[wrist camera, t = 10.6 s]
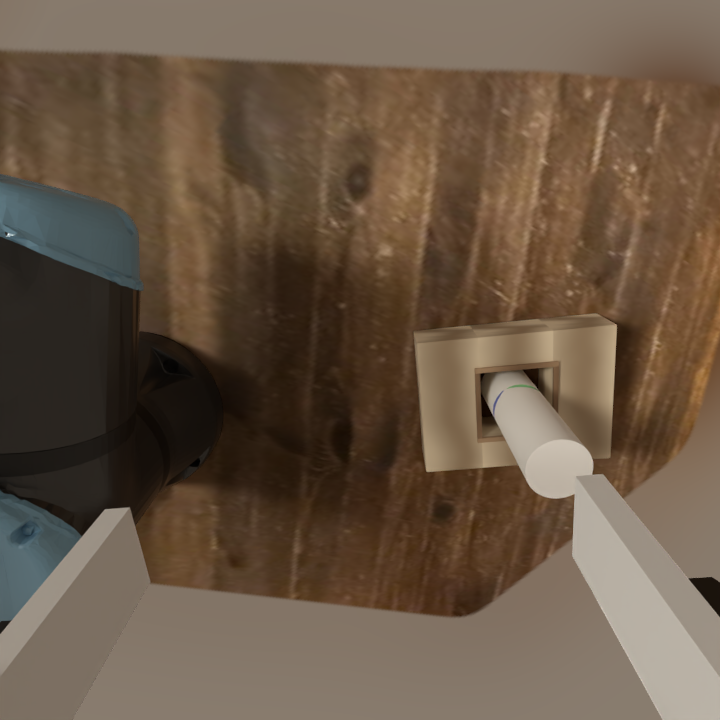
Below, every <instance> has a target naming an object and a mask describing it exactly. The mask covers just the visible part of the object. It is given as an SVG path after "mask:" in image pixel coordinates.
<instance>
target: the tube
mask: <svg viewBox="0 0 720 720" xmlns="http://www.w3.org/2000/svg"><path fill="white" fill-rule="evenodd" d="M481 393H482V395H483V397H484V399H485V401H486V403H487V405H488V407H489V409H490V411H491V413H492V415H493V417H494V418H495V420H496V422H497V424H498V426H499V428H500V430H501V432H502V434H503V436H504V438H505V440H506V442H507V444H508V446H509V448H510V450H511V451H512V453H513V455H514V457H515V459H516V461H517V463H518V465H519V467H520V469H521V471H522V473H523V475H524V477H525V479H526V481H527V482H528V484H529V486H530V487H531V488H532V489H533V490H534V491H535V492H536V493H538V494H539V495H542V496H544V497H548V498H565V497H568V496H571V495H573V494H575V477H576V476H584V475H592V472H593V460H592V457H591V455H590V453H589V451H588V450H587V449H586V448H585V446H584V445H583V444H582V443H581V442H580V440H579V439H578V438H577V437H576V435H575V434H574V433H573V432H572V430H571V429H570V428H569V427H568V426H567V424H566V423H565V422H564V421H563V419H562V418H561V417H560V416H559V414H558V413H557V412H556V411H555V410H554V408H553V407H552V406H551V405H550V403H549V402H548V401H547V400H546V398H545V397H544V396H543V395H542V394H541V392H540V391H539V390H538V389H537V387H536V386H535V385H534V384H533V383H532V381H531V380H530V379H529V378H528V376H527V375H526V374H525V373H524V372H523V370H512V371H501V372H490V373H485V374H484V376H483V378H482V381H481Z"/></svg>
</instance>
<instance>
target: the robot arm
mask: <svg viewBox="0 0 720 720" xmlns="http://www.w3.org/2000/svg"><path fill="white" fill-rule="evenodd" d="M143 289H144V285H143V282H142V281H141V280H140V261H139V234H138V230H137V227H136V225H135V223H134V221H133V220H132V219H131V217H130V216H129V215H128V214H127V213H126V212H125V211H124V210H122V209H121V208H119V207H117V206H116V205H114V204H111V203H109V202H106V201H103V200H99V199H96V198H93V197H89V196H86V195H82V194H78V193H75V192H71V191H67V190H63V189H60V188H56V187H52V186H48V185H44V184H40V183H36V182H32V181H27V180H23V179H19V178H15V177H11V176H7V175H3V174H0V720H73V718H74V716H75V714H76V712H77V711H78V709H79V707H80V705H81V704H82V702H83V700H84V698H85V697H86V695H87V693H88V691H89V689H90V688H91V686H92V684H93V682H94V681H95V679H96V677H97V675H98V673H99V672H100V670H101V668H102V667H103V665H104V663H105V661H106V659H107V658H108V656H109V654H110V652H111V651H112V649H113V647H114V645H115V644H116V642H117V640H118V638H119V637H120V635H121V633H122V631H123V629H124V628H125V626H126V624H127V622H128V621H129V619H130V617H131V615H132V614H133V612H134V610H135V608H136V607H137V605H138V603H139V601H140V600H141V598H142V596H143V594H144V592H145V591H146V589H147V587H148V585H149V584H150V579H149V575H148V571H147V568H146V564H145V561H144V557H143V553H142V550H141V546H140V542H139V539H138V535H137V532H136V528H135V526H136V524H137V523H138V521H139V520H140V519H141V517H142V516H143V514H144V513H145V512H146V510H147V509H148V507H149V506H150V505H151V503H152V502H153V500H154V499H155V497H156V496H157V495H158V493H160V492H162V491H164V490H166V489H167V488H169V487H171V486H173V485H175V484H177V483H179V482H181V481H182V480H184V479H186V478H187V477H189V476H190V475H192V474H193V473H194V472H195V471H196V470H197V469H199V467H200V466H201V465H202V464H203V463H204V462H205V461H206V459H207V458H208V456H209V455H210V453H211V451H212V450H213V448H214V447H215V445H216V443H217V441H218V439H219V436H220V433H221V429H222V424H223V406H222V401H221V397H220V393H219V390H218V388H217V385H216V383H215V381H214V379H213V378H212V376H211V374H210V373H209V371H208V370H207V369H206V367H205V366H204V365H203V364H202V363H201V362H200V360H199V359H198V358H196V357H195V356H194V355H193V354H192V353H191V352H190V351H188V350H187V349H185V348H184V347H183V346H181V345H179V344H178V343H176V342H174V341H172V340H170V339H167V338H165V337H162V336H159V335H156V334H152V333H147V332H139V322H140V293H141V291H143ZM572 551H573V552H572V556H573V558H574V560H575V562H576V563H577V565H578V567H579V569H580V571H581V572H582V574H583V576H584V578H585V580H586V582H587V583H588V585H589V587H590V589H591V590H592V592H593V594H594V596H595V598H596V600H597V602H598V603H599V605H600V607H601V609H602V611H603V612H604V614H605V616H606V618H607V620H608V622H609V623H610V625H611V627H612V629H613V631H614V632H615V634H616V636H617V638H618V640H619V641H620V643H621V645H622V647H623V648H624V650H625V652H626V654H627V656H628V658H629V660H630V662H631V663H632V665H633V667H634V669H635V671H636V672H637V674H638V676H639V678H640V679H641V682H642V683H643V685H644V687H645V689H646V691H647V692H648V694H649V696H650V698H651V699H652V701H653V703H654V705H655V707H656V709H657V710H658V712H659V714H660V716H661V718H662V720H720V582H718V581H717V580H715V579H714V578H712V577H706V578H691V579H690V578H689V579H688V578H687V577H686V575H685V574H684V573H683V572H682V570H681V569H680V568H679V567H678V566H677V564H676V563H675V562H674V561H673V560H672V558H671V557H670V556H669V555H668V553H667V552H666V551H665V550H664V548H663V547H662V546H661V545H660V543H659V542H658V541H657V540H656V539H655V537H654V536H653V535H652V534H651V533H650V531H649V530H648V529H647V528H646V526H645V525H644V524H643V523H642V521H641V520H640V519H639V518H638V517H637V515H636V514H635V513H634V512H633V510H632V509H631V508H630V507H629V506H628V504H627V503H626V502H625V501H624V499H623V498H622V497H621V496H620V495H619V493H618V492H617V491H616V490H615V488H614V487H613V486H612V485H611V484H610V482H609V481H608V480H607V479H606V477H605V476H604V475H603V474H598V475H584V476H576V477H575V501H574V524H573V548H572Z"/></svg>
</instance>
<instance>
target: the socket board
mask: <svg viewBox="0 0 720 720" xmlns="http://www.w3.org/2000/svg"><path fill="white" fill-rule="evenodd" d="M413 334H414V347H415V359H416V372H417V385H418V398H419V411H420V424H421V437H422V450H423V456H424V462H425V467H426V472H434V471H447V470H460V469H473V468H486V467H498V466H511V465H518V463H517V461H516V459H515V457H514V455H513V453H512V451H511V450H510V448H509V446H508V444H507V442H506V440H505V438H504V436H503V434H502V432H501V430H500V428H499V426H498V424H497V422H496V420H495V418H494V417H493V416H489V417H482V414H481V386H480V373H490V372H501V371H512V370H523V369H535V368H538V390H539V391H540V392H541V394H542V395H543V396H544V397H545V398H546V400H547V401H548V402H549V403H550V405H551V406H552V407H553V408H554V410H555V411H556V412H557V413H558V414H559V416H560V417H561V418H562V419H563V421H564V422H565V423H566V424H567V426H568V427H569V428H570V429H571V430H572V432H573V433H574V434H575V435H576V437H577V438H578V439H579V440H580V442H581V443H582V444H583V445H584V446H585V448H586V449H587V450H588V451H589V453H590V455H591V457H592V459H601V458H610V454H611V434H612V414H613V394H614V375H615V355H616V335H617V324H615V323H613V322H611V321H609V320H608V319H606V318H604V317H602V316H600V315H598V314H597V313H596V314H585V315H575V316H564V317H554V318H543V319H533V320H522V321H512V322H501V323H491V324H480V325H470V326H459V327H449V328H438V329H428V330H417V331H413Z"/></svg>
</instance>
